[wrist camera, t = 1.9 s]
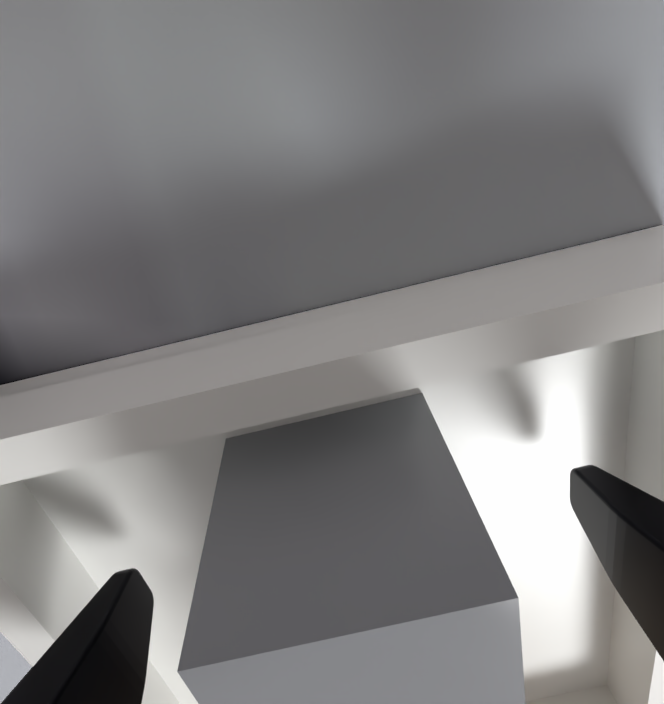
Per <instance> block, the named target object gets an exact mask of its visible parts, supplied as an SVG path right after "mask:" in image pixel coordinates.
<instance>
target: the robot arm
mask: <svg viewBox="0 0 664 704" xmlns="http://www.w3.org/2000/svg"><path fill="white" fill-rule="evenodd" d="M570 503H571V506H572V509H573V511H574V513H575V515H576V517H577V518H578V520H579V522H580V524H581V526H582V528H583V530H584V532H585V534H586V536H587V537H588V539H589V541H590V543H591V545H592V547H593V549H594V551H595V553H596V554H597V556H598V558H599V560H600V562H601V564H602V566H603V568H604V570H605V571H606V573H607V575H608V577H609V579H610V580H611V582H612V584H613V585H614V587H615V589H616V590H617V592H618V593H619V595H620V596H621V598H622V599H623V601H624V602H625V604H626V605H627V607H628V608H629V610H630V611H631V613H632V614H633V616H634V617H635V619H636V620H637V622H638V623H639V625H640V626H641V628H642V629H643V631H644V632H645V634H646V635H647V637H648V638H649V640H650V641H651V643H652V644H653V646H654V647H655V649H656V650H657V652H658V653H659V655H660V656H661V658H662V659H663V661H664V501H662V500H660V499H658V498H656V497H654V496H652V495H650V494H648V493H646V492H644V491H643V490H641V489H639V488H637V487H635V486H633V485H631V484H629V483H627V482H625V481H623V480H622V479H620V478H618V477H616V476H614V475H612V474H610V473H608V472H606V471H604V470H602V469H601V468H599V467H597V466H594V465H586V466H581V467H577V468H573V469H572V470H571V472H570ZM153 607H154V598H153V594H152V591H151V589H150V588H149V586H148V585H147V583H146V582H145V580H144V578H143V577H142V575H141V574H140V572H139V571H138V570H137V569H135V568H130V569H126V570H122V571H118V572H116V573H114V574H113V575H112V576H111V577H110V578H109V579H108V580H107V582H106V583H105V584H104V585H103V586H102V587H101V589H100V590H99V591H98V592H97V593H96V594H95V595H94V597H93V598H92V599H91V600H90V601H89V602H88V604H87V605H86V606H85V607H84V608H83V609H82V610H81V612H80V613H79V614H78V615H77V616H76V617H75V619H74V620H73V621H72V622H71V623H70V624H69V626H68V627H67V628H66V629H65V630H64V631H63V632H62V634H61V635H60V636H59V637H58V638H57V639H56V641H55V642H54V643H53V644H52V645H51V646H50V647H49V649H48V650H47V651H46V652H45V653H44V654H43V656H42V657H41V658H40V659H39V660H38V661H37V662H36V664H35V665H34V666H33V667H32V668H31V669H30V671H29V672H28V673H27V674H26V675H25V676H24V677H23V679H22V680H21V681H20V682H19V683H18V684H17V686H16V687H15V688H14V689H13V690H12V691H11V692H10V694H9V695H8V696H7V697H6V698H5V699H4V701H3V702H2V703H1V704H141V703H142V698H143V693H144V687H145V681H146V673H147V664H148V655H149V645H150V636H151V626H152V617H153Z"/></svg>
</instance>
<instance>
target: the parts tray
mask: <svg viewBox="0 0 664 704" xmlns="http://www.w3.org/2000/svg"><path fill="white" fill-rule="evenodd" d="M418 393H423V396H424V398H425V400H426V402H427V404H428V406H429V408H430V410H431V413H432V415H433V417H434V419H435V421H436V423H437V425H438V427H439V430H440V432H441V434H442V436H443V438H444V440H445V442H446V444H447V447H448V449H449V451H450V453H451V455H452V457H453V459H454V462H455V464H456V466H457V468H458V470H459V472H460V474H461V476H462V479H463V481H464V483H465V485H466V487H467V489H468V491H469V493H470V496H471V498H472V500H473V502H474V504H475V506H476V508H477V510H478V513H479V515H480V517H481V519H482V521H483V523H484V525H485V527H486V530H487V532H488V534H489V536H490V538H491V540H492V542H493V545H494V547H495V549H496V551H497V553H498V555H499V557H500V559H501V562H502V564H503V566H504V568H505V570H506V572H507V574H508V576H509V579H510V581H511V583H512V585H513V587H514V589H515V591H516V593H517V596H518V598H519V612H520V627H521V642H522V657H523V672H524V688H525V703H526V704H664V661H663V659H662V658H661V656H660V655H659V653H658V652H657V650H656V649H655V647H654V646H653V644H652V643H651V641H650V640H649V638H648V637H647V635H646V634H645V632H644V631H643V629H642V628H641V626H640V625H639V623H638V622H637V620H636V619H635V617H634V616H633V614H632V613H631V611H630V610H629V608H628V607H627V605H626V604H625V602H624V601H623V599H622V598H621V596H620V595H619V593H618V592H617V590H616V589H615V587H614V585H613V584H612V582H611V580H610V579H609V577H608V575H607V573H606V571H605V570H604V568H603V566H602V564H601V562H600V560H599V558H598V556H597V554H596V553H595V551H594V549H593V547H592V545H591V543H590V541H589V539H588V537H587V536H586V534H585V532H584V530H583V528H582V526H581V524H580V522H579V520H578V518H577V517H576V515H575V513H574V511H573V509H572V506H571V503H570V472H571V470H572V469H573V468H577V467H581V466H586V465H594V466H597V467H599V468H601V469H602V470H604V471H606V472H608V473H610V474H612V475H614V476H616V477H618V478H620V479H622V480H623V481H625V482H627V483H629V484H631V485H633V486H635V487H637V488H639V489H641V490H643V491H644V492H646V493H648V494H650V495H652V496H654V497H656V498H658V499H660V500H662V501H664V225H660V226H656V227H652V228H648V229H644V230H640V231H636V232H631V233H627V234H623V235H619V236H615V237H611V238H607V239H603V240H598V241H594V242H590V243H586V244H582V245H578V246H574V247H569V248H565V249H561V250H557V251H553V252H549V253H545V254H541V255H536V256H532V257H528V258H524V259H520V260H516V261H512V262H507V263H503V264H499V265H495V266H491V267H487V268H483V269H479V270H474V271H470V272H466V273H462V274H458V275H454V276H450V277H445V278H441V279H437V280H433V281H429V282H425V283H421V284H416V285H412V286H408V287H404V288H400V289H396V290H392V291H388V292H383V293H379V294H375V295H371V296H367V297H363V298H359V299H354V300H350V301H346V302H342V303H338V304H334V305H330V306H326V307H321V308H317V309H313V310H309V311H305V312H301V313H297V314H292V315H288V316H284V317H280V318H276V319H272V320H268V321H264V322H259V323H255V324H251V325H247V326H243V327H239V328H235V329H230V330H226V331H222V332H218V333H214V334H210V335H206V336H202V337H197V338H193V339H189V340H185V341H181V342H177V343H173V344H168V345H164V346H160V347H156V348H152V349H148V350H144V351H140V352H135V353H131V354H127V355H123V356H119V357H115V358H111V359H106V360H102V361H98V362H94V363H90V364H86V365H82V366H78V367H73V368H69V369H65V370H61V371H57V372H53V373H49V374H44V375H40V376H36V377H32V378H28V379H24V380H20V381H16V382H11V383H7V384H3V385H0V632H1V633H2V634H3V635H4V636H5V637H6V639H7V640H8V641H9V642H10V643H11V644H12V645H13V646H14V647H15V648H16V649H17V651H18V652H19V653H20V654H21V655H22V656H23V657H24V658H25V659H26V660H27V661H28V663H29V664H30V665H31V666H32V667H33V666H34V665H35V664H36V662H37V661H38V660H39V659H40V658H41V657H42V656H43V654H44V653H45V652H46V651H47V650H48V649H49V647H50V646H51V645H52V644H53V643H54V642H55V641H56V639H57V638H58V637H59V636H60V635H61V634H62V632H63V631H64V630H65V629H66V628H67V627H68V626H69V624H70V623H71V622H72V621H73V620H74V619H75V617H76V616H77V615H78V614H79V613H80V612H81V610H82V609H83V608H84V607H85V606H86V605H87V604H88V602H89V601H90V600H91V599H92V598H93V597H94V595H95V594H96V593H97V592H98V591H99V590H100V589H101V587H102V586H103V585H104V584H105V583H106V582H107V580H108V579H109V578H110V577H111V576H112V575H113V574H114V573H116V572H118V571H122V570H126V569H130V568H135V569H137V570H138V571H139V572H140V574H141V575H142V577H143V578H144V580H145V582H146V583H147V585H148V586H149V588H150V589H151V591H152V594H153V598H154V607H153V617H152V626H151V636H150V645H149V655H148V664H147V673H146V681H145V687H144V693H143V698H142V703H141V704H198V702H197V701H196V699H195V698H194V696H193V695H192V693H191V692H190V690H189V689H188V687H187V686H186V684H185V683H184V681H183V680H182V678H181V677H180V675H179V674H178V672H177V670H178V665H179V660H180V656H181V651H182V646H183V641H184V637H185V632H186V627H187V622H188V617H189V613H190V608H191V603H192V598H193V593H194V589H195V584H196V579H197V574H198V570H199V565H200V560H201V555H202V550H203V546H204V541H205V536H206V531H207V526H208V522H209V517H210V512H211V507H212V502H213V498H214V493H215V488H216V483H217V479H218V474H219V469H220V464H221V459H222V455H223V450H224V445H225V440H226V438H230V437H234V436H239V435H243V434H247V433H251V432H256V431H260V430H264V429H269V428H273V427H277V426H281V425H286V424H290V423H294V422H299V421H303V420H307V419H311V418H316V417H320V416H324V415H329V414H333V413H337V412H341V411H346V410H350V409H354V408H358V407H363V406H367V405H371V404H376V403H380V402H384V401H388V400H393V399H397V398H401V397H406V396H410V395H414V394H418Z"/></svg>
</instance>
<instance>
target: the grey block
mask: <svg viewBox="0 0 664 704" xmlns="http://www.w3.org/2000/svg"><path fill="white" fill-rule="evenodd" d="M177 672H178V674H179V675H180V677H181V678H182V680H183V681H184V683H185V684H186V686H187V687H188V689H189V690H190V692H191V693H192V695H193V696H194V698H195V699H196V701H197V702H198V704H526V703H525V688H524V672H523V657H522V642H521V627H520V612H519V598H518V596H517V593H516V591H515V589H514V587H513V585H512V583H511V581H510V579H509V576H508V574H507V572H506V570H505V568H504V566H503V564H502V562H501V559H500V557H499V555H498V553H497V551H496V549H495V547H494V545H493V542H492V540H491V538H490V536H489V534H488V532H487V530H486V527H485V525H484V523H483V521H482V519H481V517H480V515H479V513H478V510H477V508H476V506H475V504H474V502H473V500H472V498H471V496H470V493H469V491H468V489H467V487H466V485H465V483H464V481H463V479H462V476H461V474H460V472H459V470H458V468H457V466H456V464H455V462H454V459H453V457H452V455H451V453H450V451H449V449H448V447H447V444H446V442H445V440H444V438H443V436H442V434H441V432H440V430H439V427H438V425H437V423H436V421H435V419H434V417H433V415H432V413H431V410H430V408H429V406H428V404H427V402H426V400H425V398H424V396H423V393H418V394H414V395H410V396H406V397H401V398H397V399H393V400H388V401H384V402H380V403H376V404H371V405H367V406H363V407H358V408H354V409H350V410H346V411H341V412H337V413H333V414H329V415H324V416H320V417H316V418H311V419H307V420H303V421H299V422H294V423H290V424H286V425H281V426H277V427H273V428H269V429H264V430H260V431H256V432H251V433H247V434H243V435H239V436H234V437H230V438H226V440H225V445H224V450H223V455H222V459H221V464H220V469H219V474H218V479H217V483H216V488H215V493H214V498H213V502H212V507H211V512H210V517H209V522H208V526H207V531H206V536H205V541H204V546H203V550H202V555H201V560H200V565H199V570H198V574H197V579H196V584H195V589H194V593H193V598H192V603H191V608H190V613H189V617H188V622H187V627H186V632H185V637H184V641H183V646H182V651H181V656H180V660H179V665H178V670H177Z"/></svg>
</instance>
